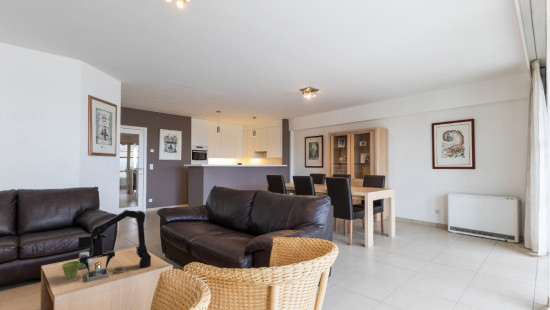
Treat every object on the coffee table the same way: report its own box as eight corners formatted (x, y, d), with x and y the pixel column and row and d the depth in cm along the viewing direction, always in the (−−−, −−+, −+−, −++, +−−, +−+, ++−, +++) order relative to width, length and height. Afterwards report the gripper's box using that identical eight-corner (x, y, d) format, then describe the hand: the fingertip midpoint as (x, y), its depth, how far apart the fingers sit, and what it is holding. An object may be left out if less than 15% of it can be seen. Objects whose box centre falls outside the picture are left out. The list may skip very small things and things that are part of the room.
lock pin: (101, 275, 174) (101, 261, 175) (101, 277, 171) (101, 263, 172) (94, 276, 172) (94, 262, 172) (94, 278, 169) (94, 264, 169)
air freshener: (95, 264, 194) (95, 250, 194) (87, 269, 185) (87, 255, 186) (80, 264, 194) (81, 250, 194) (71, 269, 186) (72, 254, 186)
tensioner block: (126, 267, 188) (126, 264, 188) (128, 273, 179) (128, 269, 179) (109, 271, 182) (109, 268, 182) (110, 276, 173) (110, 273, 173)
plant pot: (78, 278, 172) (78, 264, 172) (60, 281, 167) (60, 267, 167) (80, 272, 180) (80, 259, 180) (63, 276, 175) (63, 262, 175)
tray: (107, 272, 180) (107, 268, 180) (108, 278, 170) (108, 273, 171) (86, 277, 173) (86, 272, 173) (87, 283, 164) (87, 278, 164)
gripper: (113, 239, 184) (113, 262, 184) (79, 244, 173) (79, 269, 173) (115, 243, 175) (115, 267, 175) (79, 249, 164) (79, 275, 164)
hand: (97, 269), depth 172 cm, fingers open, 9 cm apart
